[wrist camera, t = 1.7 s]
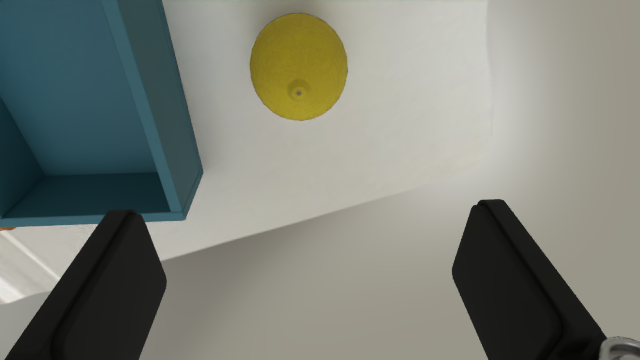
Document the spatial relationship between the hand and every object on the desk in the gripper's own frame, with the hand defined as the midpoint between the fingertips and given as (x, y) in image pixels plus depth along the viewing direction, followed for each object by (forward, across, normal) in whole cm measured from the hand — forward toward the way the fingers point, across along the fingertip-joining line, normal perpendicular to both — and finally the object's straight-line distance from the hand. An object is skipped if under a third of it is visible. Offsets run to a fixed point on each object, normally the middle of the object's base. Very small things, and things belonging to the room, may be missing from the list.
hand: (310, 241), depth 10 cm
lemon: (+17, 0, -1) cm, 17 cm away
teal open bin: (+17, +15, +1) cm, 22 cm away
